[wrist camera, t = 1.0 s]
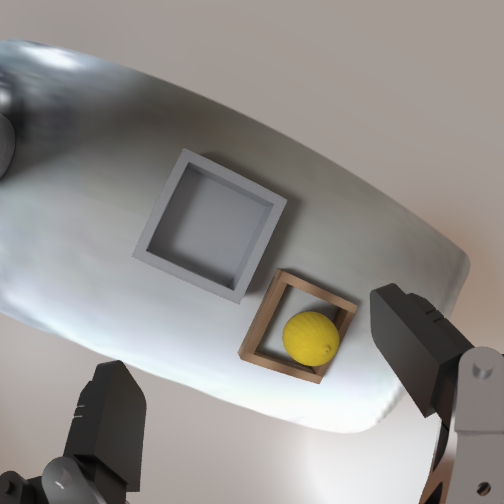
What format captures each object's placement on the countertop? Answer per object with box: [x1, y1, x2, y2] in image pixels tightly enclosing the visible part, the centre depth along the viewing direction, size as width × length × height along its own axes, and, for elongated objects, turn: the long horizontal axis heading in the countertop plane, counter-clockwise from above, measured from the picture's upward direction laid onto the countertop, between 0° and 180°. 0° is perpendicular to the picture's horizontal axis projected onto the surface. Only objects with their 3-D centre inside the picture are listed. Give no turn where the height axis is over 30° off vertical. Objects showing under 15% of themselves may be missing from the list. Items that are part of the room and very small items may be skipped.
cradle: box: [238, 269, 358, 384], centre depth 35 cm, size 10×10×2 cm
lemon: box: [283, 311, 339, 366], centre depth 32 cm, size 6×6×8 cm
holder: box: [132, 148, 287, 304], centre depth 31 cm, size 11×11×4 cm
